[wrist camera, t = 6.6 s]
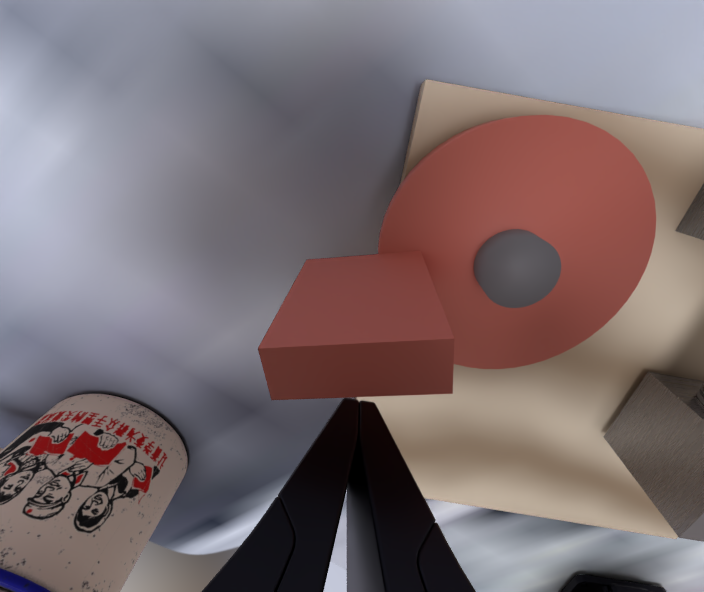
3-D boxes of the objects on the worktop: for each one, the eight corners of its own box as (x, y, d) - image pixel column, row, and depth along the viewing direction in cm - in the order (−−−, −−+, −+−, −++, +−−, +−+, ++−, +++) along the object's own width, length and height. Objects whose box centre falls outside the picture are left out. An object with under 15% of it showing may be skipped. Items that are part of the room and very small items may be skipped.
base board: (660, 517, 21) (676, 539, 20) (340, 465, 20) (338, 483, 19) (972, 182, 12) (1032, 187, 11) (421, 84, 12) (425, 79, 11)
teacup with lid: (206, 417, 19) (9, 748, 9) (182, 506, 23) (25, 809, 13) (-11, 347, 18) (-533, 637, 8) (2, 453, 22) (-334, 742, 12)
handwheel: (663, 100, 10) (1072, 52, 4) (600, 346, 14) (768, 505, 8) (295, 141, 11) (205, 151, 5) (329, 359, 15) (299, 506, 9)
